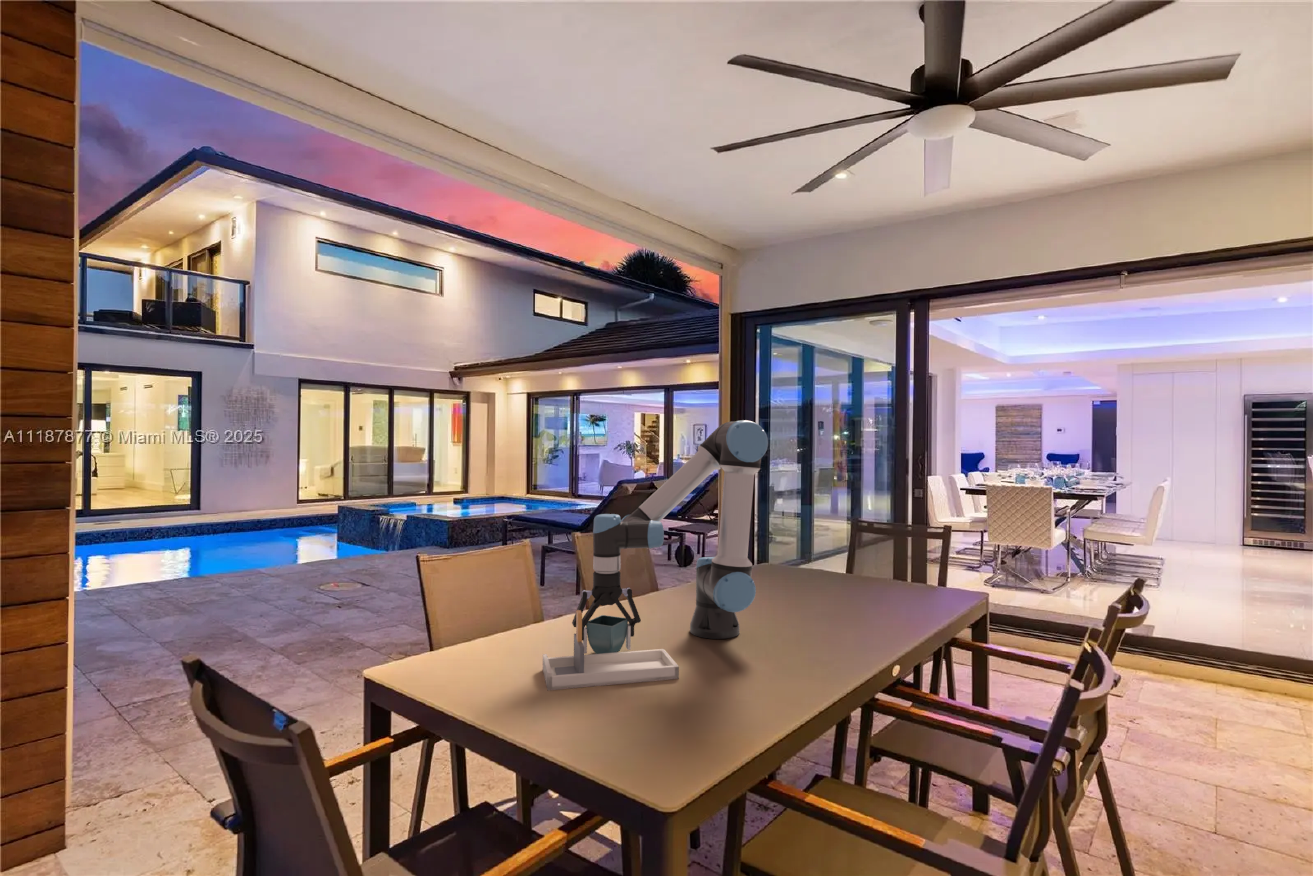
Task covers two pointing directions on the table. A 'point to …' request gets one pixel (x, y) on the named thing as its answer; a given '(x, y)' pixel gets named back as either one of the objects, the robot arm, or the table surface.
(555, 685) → the white tray
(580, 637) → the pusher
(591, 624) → the flower pot
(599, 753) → the table surface
